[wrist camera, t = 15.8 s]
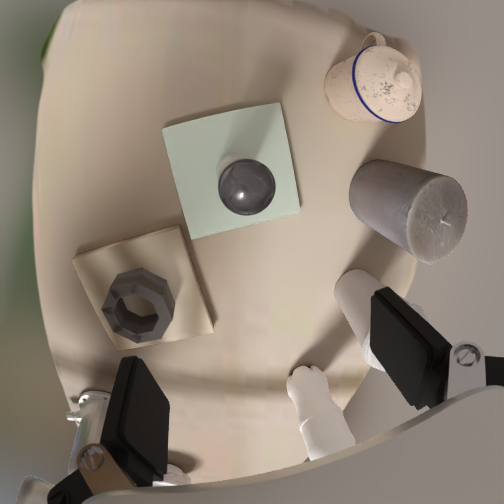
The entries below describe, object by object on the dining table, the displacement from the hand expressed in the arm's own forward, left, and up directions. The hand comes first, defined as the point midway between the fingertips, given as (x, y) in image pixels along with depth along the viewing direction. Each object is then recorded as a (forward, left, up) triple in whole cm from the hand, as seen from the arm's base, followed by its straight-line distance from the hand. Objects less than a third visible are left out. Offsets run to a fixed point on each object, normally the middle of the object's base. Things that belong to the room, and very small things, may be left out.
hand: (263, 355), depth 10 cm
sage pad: (+2, +4, -27) cm, 27 cm away
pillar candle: (+21, -3, -27) cm, 34 cm away
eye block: (-14, -9, -27) cm, 31 cm away
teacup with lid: (+20, +13, -27) cm, 36 cm away
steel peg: (+2, +4, -26) cm, 26 cm away
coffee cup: (+16, -17, -27) cm, 36 cm away
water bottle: (+6, -33, -27) cm, 43 cm away
